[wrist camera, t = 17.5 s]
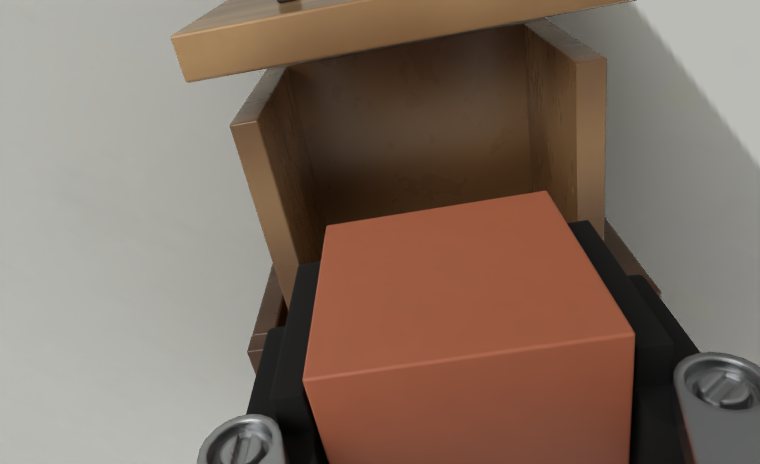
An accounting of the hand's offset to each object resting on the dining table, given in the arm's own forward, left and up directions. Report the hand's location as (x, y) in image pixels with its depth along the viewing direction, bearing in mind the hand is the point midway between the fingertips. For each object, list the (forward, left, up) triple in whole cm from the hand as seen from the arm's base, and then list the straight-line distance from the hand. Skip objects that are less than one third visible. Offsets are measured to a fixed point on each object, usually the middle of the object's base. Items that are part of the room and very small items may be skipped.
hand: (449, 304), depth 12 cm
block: (0, 0, 0) cm, 0 cm away
